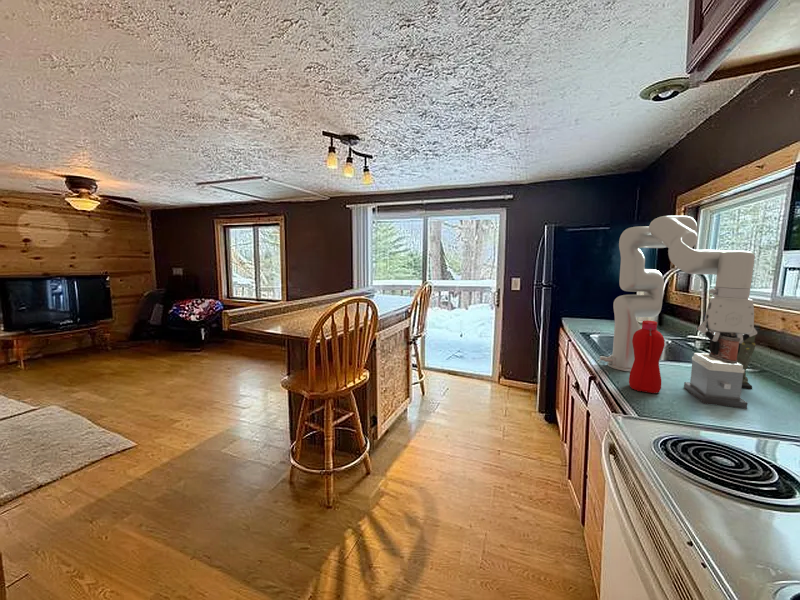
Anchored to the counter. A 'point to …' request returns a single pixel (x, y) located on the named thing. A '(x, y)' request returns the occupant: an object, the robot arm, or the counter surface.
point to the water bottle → (647, 358)
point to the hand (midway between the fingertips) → (723, 353)
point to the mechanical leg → (746, 358)
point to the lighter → (727, 348)
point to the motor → (716, 381)
